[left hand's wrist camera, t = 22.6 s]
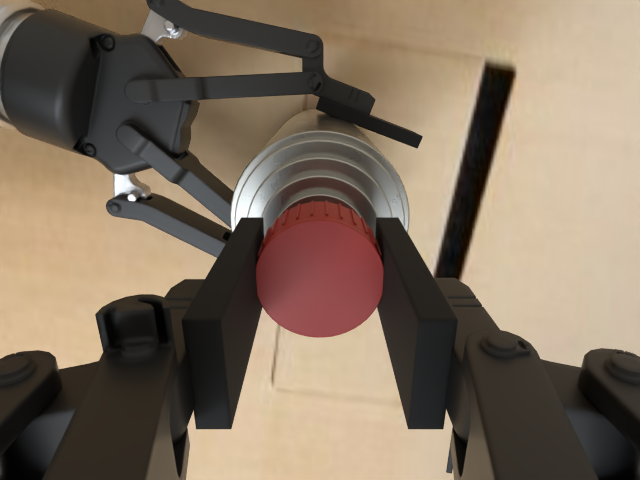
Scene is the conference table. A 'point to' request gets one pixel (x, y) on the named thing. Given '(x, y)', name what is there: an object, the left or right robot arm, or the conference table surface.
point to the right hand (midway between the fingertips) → (388, 200)
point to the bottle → (319, 173)
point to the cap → (319, 270)
